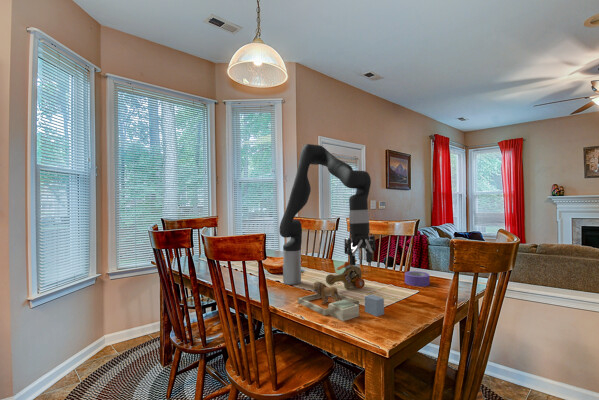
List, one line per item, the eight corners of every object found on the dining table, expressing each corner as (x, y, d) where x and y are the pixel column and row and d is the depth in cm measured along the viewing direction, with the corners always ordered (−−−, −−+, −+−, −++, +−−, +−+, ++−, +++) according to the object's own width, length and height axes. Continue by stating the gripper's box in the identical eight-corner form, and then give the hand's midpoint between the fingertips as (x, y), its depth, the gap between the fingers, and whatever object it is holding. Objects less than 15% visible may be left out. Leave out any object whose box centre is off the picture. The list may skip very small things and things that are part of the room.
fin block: (364, 311, 115) (364, 296, 115) (372, 309, 117) (371, 294, 118) (376, 316, 110) (376, 300, 110) (384, 314, 112) (383, 298, 113)
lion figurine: (313, 304, 126) (309, 283, 127) (320, 301, 130) (317, 280, 131) (342, 305, 117) (337, 281, 118) (349, 301, 121) (344, 278, 122)
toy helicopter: (366, 287, 147) (366, 259, 147) (332, 295, 136) (331, 264, 136) (355, 283, 154) (355, 257, 154) (322, 290, 143) (321, 261, 144)
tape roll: (433, 286, 147) (433, 276, 147) (409, 287, 147) (409, 276, 147) (424, 280, 159) (423, 270, 159) (401, 280, 159) (401, 271, 159)
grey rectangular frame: (297, 302, 127) (297, 292, 127) (330, 294, 137) (330, 285, 137) (338, 322, 105) (338, 310, 105) (374, 311, 115) (373, 300, 115)
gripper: (365, 220, 123) (367, 260, 123) (338, 222, 115) (340, 265, 115) (379, 220, 117) (381, 262, 116) (352, 222, 109) (354, 267, 109)
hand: (361, 263), depth 116 cm, fingers open, 8 cm apart
